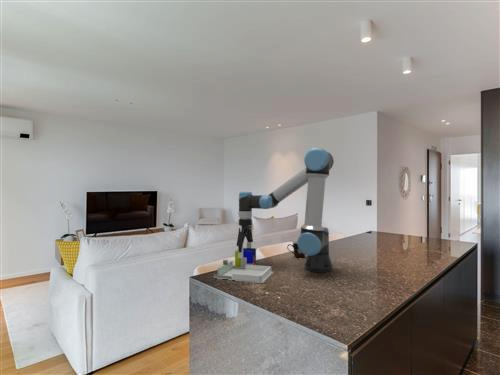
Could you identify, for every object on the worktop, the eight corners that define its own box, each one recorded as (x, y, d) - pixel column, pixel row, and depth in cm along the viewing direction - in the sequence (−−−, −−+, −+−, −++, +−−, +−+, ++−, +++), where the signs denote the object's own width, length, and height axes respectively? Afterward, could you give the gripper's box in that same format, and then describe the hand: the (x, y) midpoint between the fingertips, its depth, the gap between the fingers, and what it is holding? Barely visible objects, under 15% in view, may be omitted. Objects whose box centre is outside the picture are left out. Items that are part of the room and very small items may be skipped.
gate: (233, 268, 155) (233, 257, 156) (220, 276, 140) (220, 264, 140) (229, 267, 156) (229, 257, 156) (216, 275, 140) (216, 263, 141)
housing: (273, 272, 149) (273, 266, 149) (263, 283, 131) (263, 276, 131) (229, 269, 157) (229, 263, 158) (213, 278, 140) (213, 271, 140)
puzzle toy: (252, 269, 156) (252, 251, 157) (235, 269, 158) (234, 251, 159) (255, 265, 166) (255, 248, 166) (239, 264, 168) (239, 247, 168)
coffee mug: (308, 257, 186) (308, 242, 186) (303, 260, 179) (303, 244, 179) (292, 255, 192) (291, 240, 192) (286, 258, 185) (286, 242, 185)
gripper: (246, 216, 176) (246, 250, 176) (230, 220, 153) (230, 259, 152) (258, 217, 174) (257, 251, 173) (243, 220, 150) (243, 260, 150)
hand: (245, 255), depth 163 cm, fingers open, 13 cm apart
